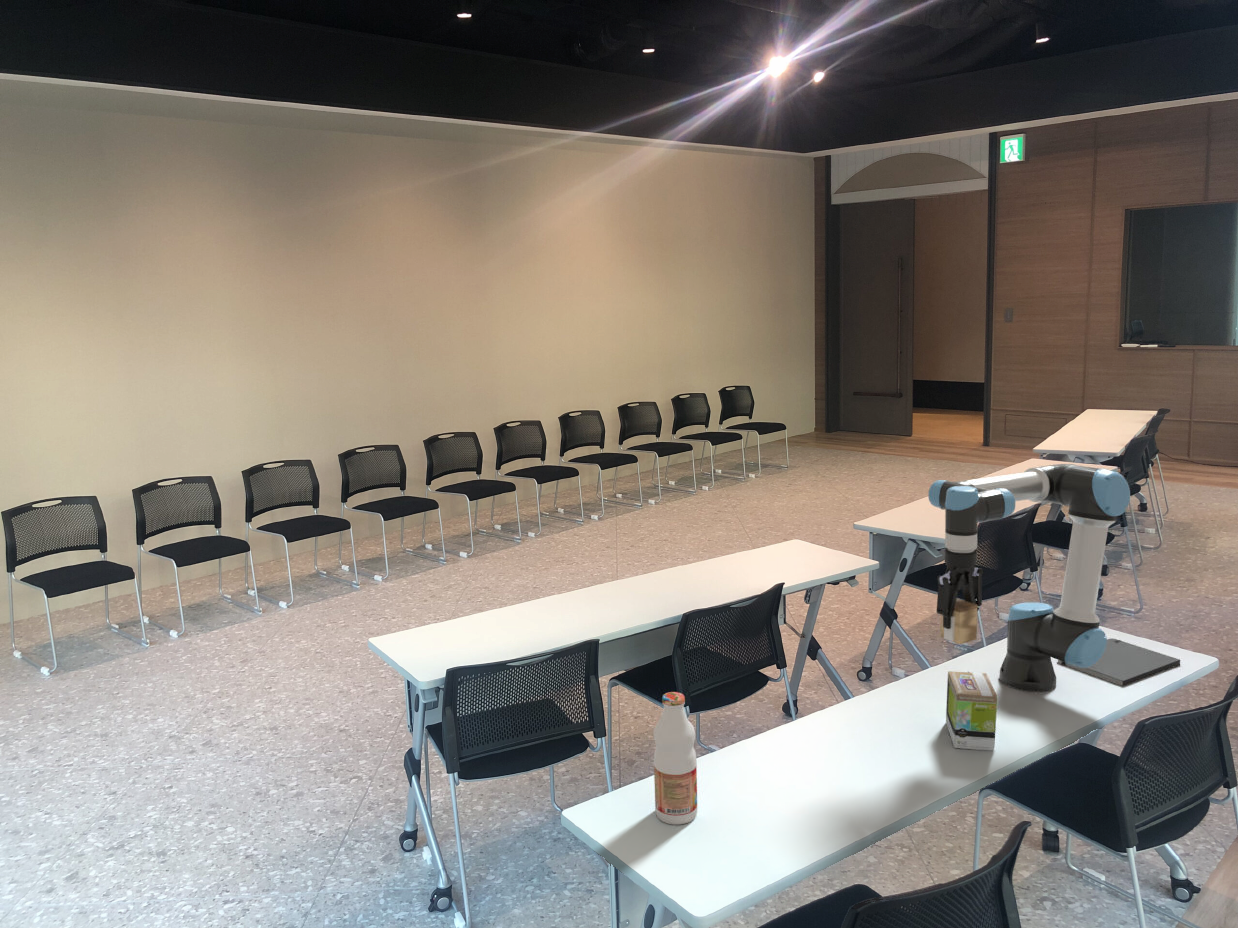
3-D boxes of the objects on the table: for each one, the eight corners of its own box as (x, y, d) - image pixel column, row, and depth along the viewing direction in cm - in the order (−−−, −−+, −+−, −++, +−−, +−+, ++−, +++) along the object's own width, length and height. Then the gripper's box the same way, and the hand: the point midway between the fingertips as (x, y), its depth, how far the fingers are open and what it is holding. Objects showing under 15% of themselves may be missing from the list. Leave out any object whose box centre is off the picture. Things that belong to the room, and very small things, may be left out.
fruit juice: (646, 811, 206) (643, 694, 201) (679, 798, 211) (676, 683, 206) (672, 830, 198) (669, 709, 193) (706, 815, 203) (704, 697, 199)
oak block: (957, 632, 236) (958, 598, 235) (976, 639, 231) (977, 604, 229) (940, 637, 233) (941, 602, 232) (959, 644, 228) (960, 609, 226)
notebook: (1122, 688, 262) (1180, 666, 275) (1123, 680, 261) (1180, 659, 274) (1054, 663, 280) (1111, 644, 294) (1055, 656, 280) (1112, 637, 293)
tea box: (996, 751, 227) (998, 695, 225) (953, 749, 229) (955, 693, 227) (984, 724, 242) (986, 671, 239) (944, 722, 244) (946, 669, 241)
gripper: (975, 539, 236) (973, 624, 240) (921, 551, 227) (920, 640, 231) (999, 545, 229) (997, 633, 233) (944, 558, 220) (943, 649, 225)
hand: (958, 636), depth 232 cm, fingers closed on oak block, 6 cm apart
